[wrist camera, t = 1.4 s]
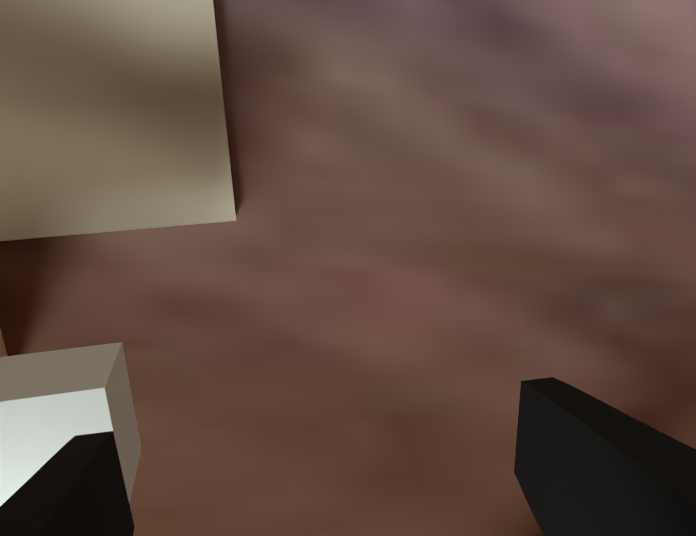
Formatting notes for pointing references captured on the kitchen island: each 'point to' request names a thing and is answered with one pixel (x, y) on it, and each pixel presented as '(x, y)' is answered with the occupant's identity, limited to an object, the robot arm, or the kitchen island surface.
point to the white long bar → (63, 409)
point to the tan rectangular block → (2, 346)
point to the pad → (110, 117)
